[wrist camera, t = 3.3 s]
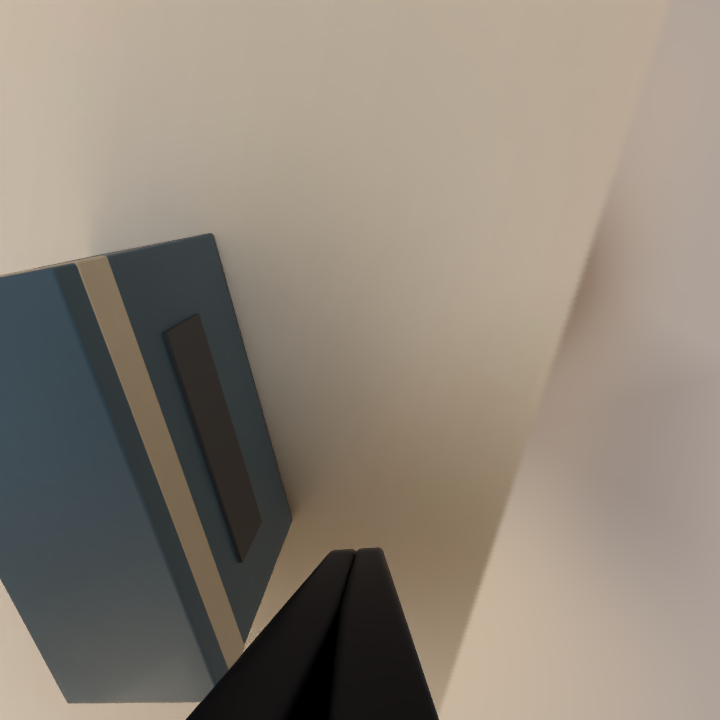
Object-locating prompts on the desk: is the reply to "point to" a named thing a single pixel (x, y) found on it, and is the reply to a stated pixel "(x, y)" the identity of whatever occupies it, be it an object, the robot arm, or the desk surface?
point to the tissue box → (134, 472)
